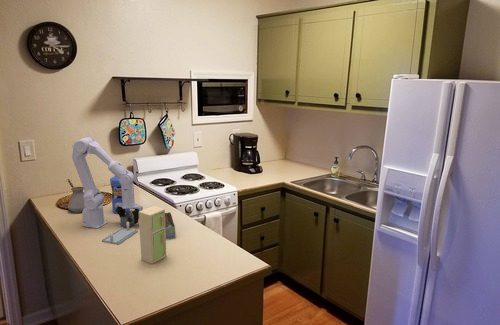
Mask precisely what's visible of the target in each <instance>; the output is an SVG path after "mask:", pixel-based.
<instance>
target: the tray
mask: <svg viewBox="0 0 500 325" xmlns="http://www.w3.org/2000/svg"><path fill="white" fill-rule="evenodd" d="M126 224H127V229H124V228H123V227H122V228H121V227H120V228H118V229H117V230H115V231H109V234H108V235H107V236H106V237H104V238H102V239H101V242H103V243H108V244H114V245H121V244H122V243H124V242H125V241H127V240H128V239H129V238H131V237H133V236H134V235H136V234H137V233H138V231H139V230H137V229H136V228H134V229H131V228H129V222H126Z"/></svg>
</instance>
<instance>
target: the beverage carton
mask: <svg viewBox="0 0 500 325" xmlns="http://www.w3.org/2000/svg"><path fill="white" fill-rule="evenodd" d="M165 232H166V240H170V239H173V240H174V239H176V226H175V222H174V220H173V216H172V213H171V212H165Z"/></svg>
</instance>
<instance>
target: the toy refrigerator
mask: <svg viewBox="0 0 500 325" xmlns="http://www.w3.org/2000/svg"><path fill="white" fill-rule="evenodd" d="M165 213H166V211H165V209H164V208H162V207H160V206H155V205H152V206H150V207H148V208H147V207H146V208H144V209H143V210H142V211H139V222H138V223H139V240H140V242H139V243H140V258H141V261H144V262H146V263H149V264H150V265H154V264H156V263H157V262H159V261H160V260H162V259H164V258H166V257H167V239H166V232H165Z"/></svg>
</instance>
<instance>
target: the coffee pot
mask: <svg viewBox="0 0 500 325" xmlns="http://www.w3.org/2000/svg"><path fill="white" fill-rule="evenodd" d="M65 182H67V183H68V184H69V185H70V187H71V189H70V190H71V192H72V194H71V196H70V200H69V202H68V205H67V209H68V210H69V211H70V212H72V213H74V214H75V213H77V214H80V213H82V212H83V209H84V208H85V205H84V193H85V191H84V188H83V186H74V185H73V183H72V182H71V180H70V179H69V178H67V179H66V181H65Z"/></svg>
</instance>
